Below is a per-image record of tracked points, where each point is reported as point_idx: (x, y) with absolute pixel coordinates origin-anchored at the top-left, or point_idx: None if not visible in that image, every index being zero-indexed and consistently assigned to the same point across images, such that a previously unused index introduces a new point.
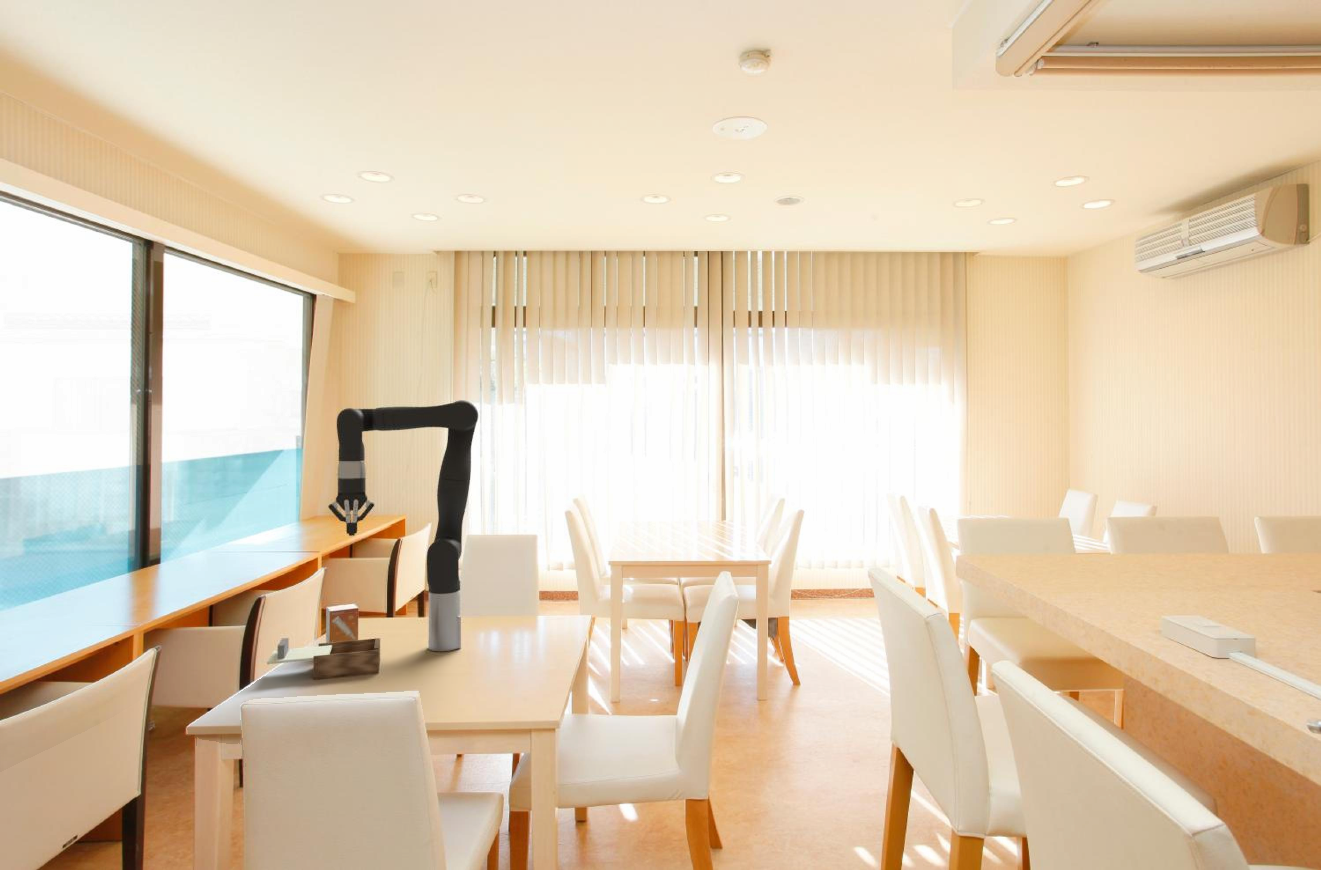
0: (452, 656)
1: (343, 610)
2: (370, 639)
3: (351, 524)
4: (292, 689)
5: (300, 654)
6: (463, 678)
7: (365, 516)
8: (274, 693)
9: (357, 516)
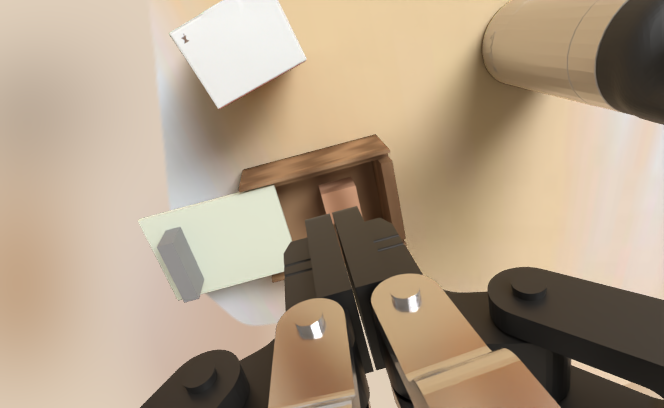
0: (536, 122)
1: (260, 86)
2: (365, 158)
3: (370, 359)
4: (255, 298)
5: (227, 254)
6: (548, 254)
7: (612, 399)
8: (232, 315)
9: (472, 345)
